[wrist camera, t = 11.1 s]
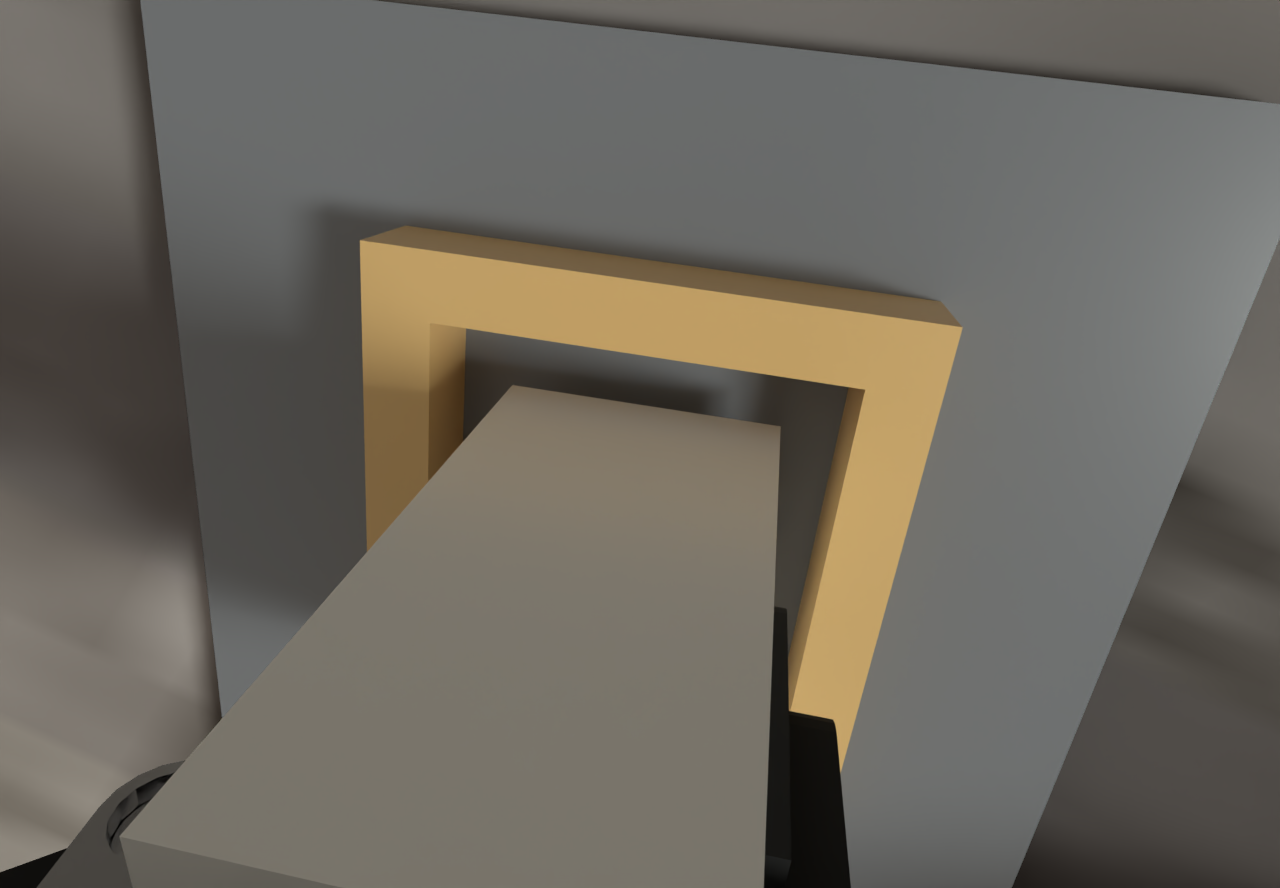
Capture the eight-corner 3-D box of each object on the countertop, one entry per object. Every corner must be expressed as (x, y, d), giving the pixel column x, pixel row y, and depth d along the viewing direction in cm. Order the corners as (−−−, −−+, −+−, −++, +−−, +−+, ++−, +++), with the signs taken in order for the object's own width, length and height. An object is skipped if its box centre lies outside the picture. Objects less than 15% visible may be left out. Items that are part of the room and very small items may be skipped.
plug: (780, 426, 12) (754, 1152, 4) (722, 735, 14) (638, 1543, 7) (511, 385, 12) (11, 960, 4) (503, 692, 15) (177, 1400, 7)
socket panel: (1286, 109, 11) (1419, 110, 9) (833, 1265, 23) (839, 1394, 21) (183, -18, 13) (52, -45, 10) (291, 1127, 24) (241, 1232, 22)
